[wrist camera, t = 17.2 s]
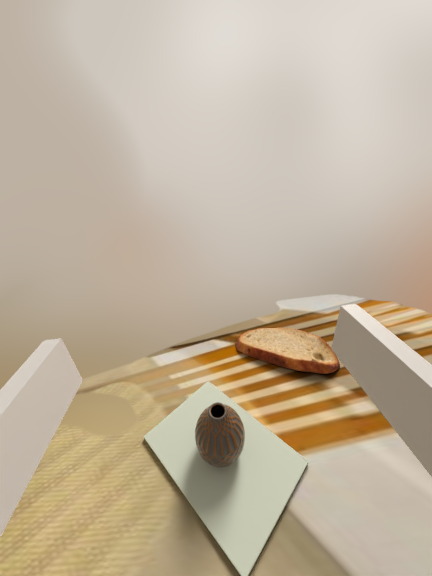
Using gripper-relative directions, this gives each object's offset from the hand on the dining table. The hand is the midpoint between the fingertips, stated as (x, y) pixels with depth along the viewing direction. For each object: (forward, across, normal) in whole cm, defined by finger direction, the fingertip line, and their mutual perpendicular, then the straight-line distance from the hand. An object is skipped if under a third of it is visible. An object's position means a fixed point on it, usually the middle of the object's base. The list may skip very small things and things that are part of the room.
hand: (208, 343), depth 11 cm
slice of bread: (+28, +16, -30) cm, 44 cm away
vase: (+10, 0, -29) cm, 30 cm away
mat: (+10, 0, -29) cm, 31 cm away
